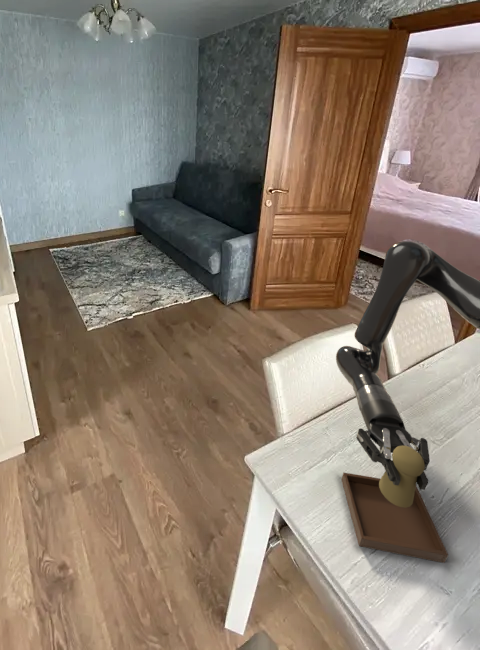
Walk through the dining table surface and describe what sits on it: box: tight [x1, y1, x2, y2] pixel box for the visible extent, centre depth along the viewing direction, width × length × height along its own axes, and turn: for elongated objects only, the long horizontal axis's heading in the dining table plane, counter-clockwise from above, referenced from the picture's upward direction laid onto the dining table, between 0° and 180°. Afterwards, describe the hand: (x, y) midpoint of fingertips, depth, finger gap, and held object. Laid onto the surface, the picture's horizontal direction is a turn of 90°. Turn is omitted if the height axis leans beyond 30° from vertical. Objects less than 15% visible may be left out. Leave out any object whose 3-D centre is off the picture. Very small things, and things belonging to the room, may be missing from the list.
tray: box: [341, 472, 449, 564], centre depth 72 cm, size 15×13×2 cm
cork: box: [379, 445, 425, 508], centre depth 68 cm, size 6×6×11 cm
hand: (410, 484), depth 65 cm, fingers closed on cork, 4 cm apart
